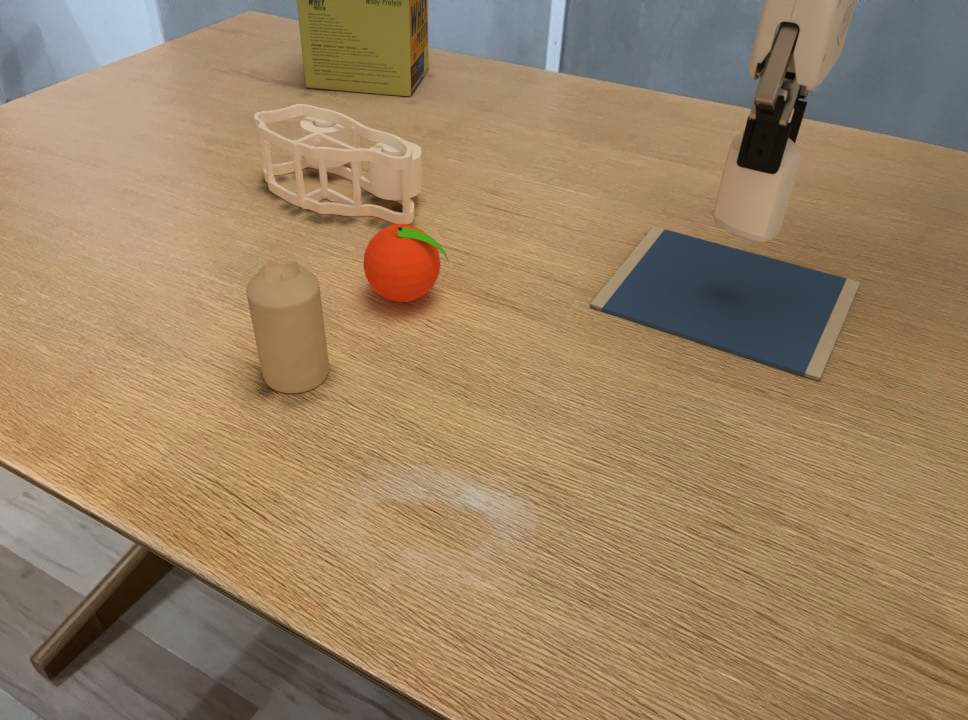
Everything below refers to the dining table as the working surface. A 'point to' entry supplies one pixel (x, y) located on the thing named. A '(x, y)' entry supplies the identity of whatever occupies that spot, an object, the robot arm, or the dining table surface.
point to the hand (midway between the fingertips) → (765, 155)
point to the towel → (731, 300)
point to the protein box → (364, 44)
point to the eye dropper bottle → (756, 193)
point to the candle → (288, 327)
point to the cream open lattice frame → (342, 163)
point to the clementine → (402, 262)
